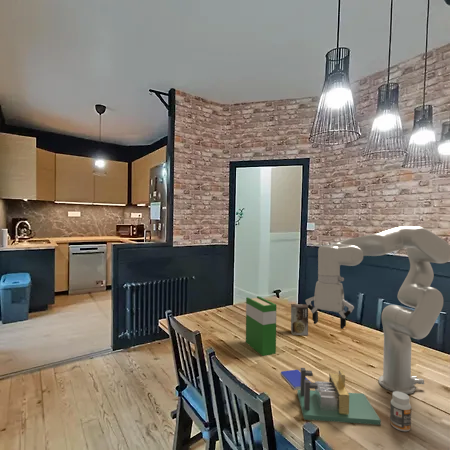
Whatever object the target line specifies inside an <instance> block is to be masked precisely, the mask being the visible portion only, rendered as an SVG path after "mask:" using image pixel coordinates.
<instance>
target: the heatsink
mask: <svg viewBox="0 0 450 450" xmlns="http://www.w3.org/2000/svg"><path fill="white" fill-rule="evenodd" d="M314 383H317V386H318V389H314V391H315V395H316V398H317V401H318V404H319V407H320V409H321V410H322V411H337V412H339V394H338V392H337V390H336V388H335V386H334V384H333V382H329V381H319V380H318V381H314Z"/></svg>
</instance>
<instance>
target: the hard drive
mask: <svg viewBox="0 0 450 450" xmlns="http://www.w3.org/2000/svg"><path fill="white" fill-rule="evenodd" d="M280 375H281V376H282V377H283V378H284V380H286V381H287V383H288V384H289V385H290V386H291V387H292V388H293V390H300V376H301V370H300V369H291V370H284V371H280ZM306 380H309V379H308V378H307V377H306Z"/></svg>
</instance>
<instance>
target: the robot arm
mask: <svg viewBox="0 0 450 450" xmlns="http://www.w3.org/2000/svg"><path fill="white" fill-rule="evenodd" d="M402 249H406V250H405V251H406V254H407V258H408V260H409V270H408V273H407V275H406V277H405V279H404V281H403V282H402V284H401V286H400V287H399V290H398V291H397V300H398V301H399V302H400V303H401V304H403V305H404V306H407V307H410V308H412V309H414V310H412V309H410V308H407V307H404V306H402V305H401V306H400V305H396V304H389V305H387V306H385V307H384V308H383V310H382V312H381V324H382V327H383V328H382V329H383V358H382V359H383V363H382V365H383V368H382V370H383V371H382V372H383V373H382V375H380V376H379V377H378V383H379V385H380V386H382V388H384V389H386V390H388V391H389V392H392V393H393V392H395V391H399V392H403V393H405V394H407V395H410V394H413V393H415V392H416V386H415V385H425V379H424V378H418V377H417V375H412V340H411V338H412V339H415V340H422V339H424V338H426V337H427V336H428V335H429V334H430V332H431V330H432V328H433V326H434V325H435V323H436V321H437V319H438V318H439V315H440V313H441V312H442V310H443V307H444V297H443V293H442V292H441V291H439V290H438V289H437V288H436V287H432V286H431V284H432V283H433V280H434V270H433V267H432V264H431V263H435V264H445V263H448V262H449V261H450V243H448V242H447V241H446V240H444V239H443V238H441V237H440V236H438V234H437V235H436V234H435V233H434V232H432V231H430V230H429V229H427V228H425V227H422V226H410V225H409V226H407V225H406V226H405V225H404V226H402V225H401V226H398V227H397V226H396V227H393V228H391V229H387V230H383V231H380V232H377V233H372V234H369V235H364V236H358V237H351V238H347V239H345V240H341V241H338V242H335V243H333V244H331V245H321V246H319V247H318V249H317V250H318V251H317V255H318V257H317V261H318V263H317V264H318V265H317V266H318V267H317V269H318V270H317V277H318V278H317V281H316V283H315V288H314V296H312V297H309V298H307V299H305V303H306V305H307V306H308V310H310V312H311V313H312V317H311V318H312V322H313V324H314V325H316V324H317V323H319V312H318V310H321V311H328V312H334V313H338V314H339V315H340V316H341V317H340V320H339V321H340V322H339V323H340V327H339V328H340V330H343V329H344V328H345V327H346V325H347V317H348V316H350V314H352V312H353V310H354V309H355V306H354V305H353V304H352V303H350V302H349V301H347V300H345V292H344V287H343V283H342V282H344V281H345V278H344V277H343V276H341V269H340V268H341V266H348V267H351V266H352V267H354V266H357V265H360V263H362V261H363V260H364V257H367V256H368V257H370V256H371V257H377V256H378V257H379V256H384V255H387V254H388V255H389V254H390V253H393V252H397V251H399V250H402ZM312 302H313V304H312ZM346 307H347V308H348V309H347V310H346V311H345V308H346Z"/></svg>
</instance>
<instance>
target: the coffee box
mask: <svg viewBox="0 0 450 450" xmlns="http://www.w3.org/2000/svg"><path fill="white" fill-rule="evenodd" d="M290 308H291V309H290V313H291V314H290V322H291V323H290V332H291V335H292V336H308V335H309V308H308V305H307V304H302V303H291V305H290Z"/></svg>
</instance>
